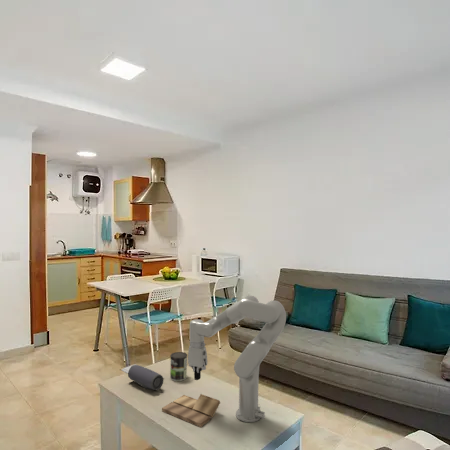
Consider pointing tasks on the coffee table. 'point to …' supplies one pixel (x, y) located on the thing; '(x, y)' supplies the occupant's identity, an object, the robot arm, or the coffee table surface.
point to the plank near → (206, 405)
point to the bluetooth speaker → (145, 377)
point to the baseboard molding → (128, 369)
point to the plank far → (186, 401)
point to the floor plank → (186, 414)
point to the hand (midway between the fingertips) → (197, 379)
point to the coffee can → (178, 366)
